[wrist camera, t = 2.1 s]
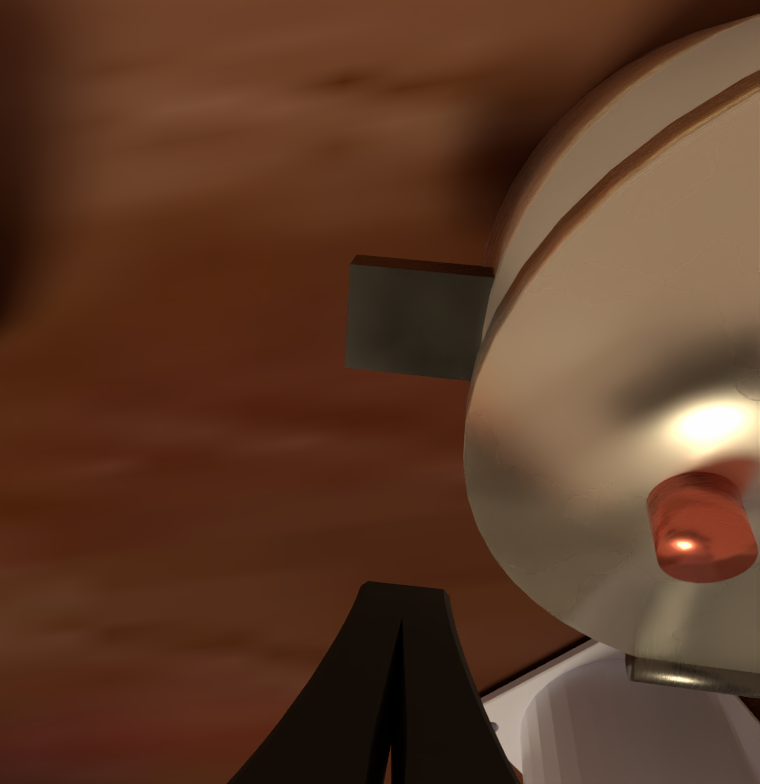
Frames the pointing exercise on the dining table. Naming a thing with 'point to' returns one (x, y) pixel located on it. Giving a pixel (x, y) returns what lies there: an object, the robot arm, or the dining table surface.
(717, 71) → the cooker pot
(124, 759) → the dining table surface
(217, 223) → the dining table surface
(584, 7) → the dining table surface
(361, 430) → the dining table surface
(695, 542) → the cooker lid
